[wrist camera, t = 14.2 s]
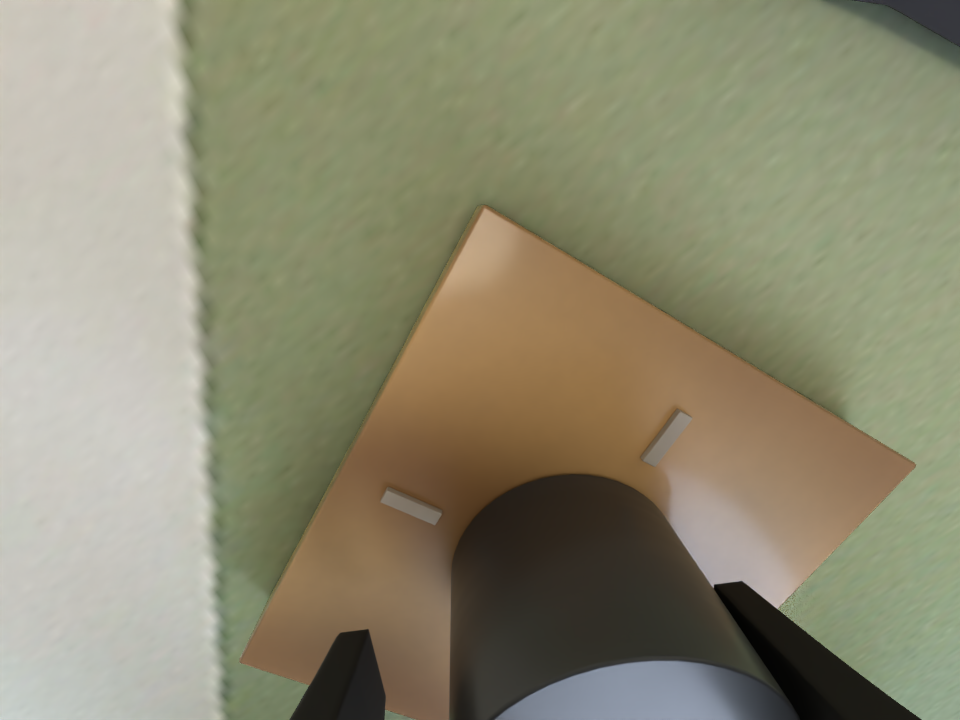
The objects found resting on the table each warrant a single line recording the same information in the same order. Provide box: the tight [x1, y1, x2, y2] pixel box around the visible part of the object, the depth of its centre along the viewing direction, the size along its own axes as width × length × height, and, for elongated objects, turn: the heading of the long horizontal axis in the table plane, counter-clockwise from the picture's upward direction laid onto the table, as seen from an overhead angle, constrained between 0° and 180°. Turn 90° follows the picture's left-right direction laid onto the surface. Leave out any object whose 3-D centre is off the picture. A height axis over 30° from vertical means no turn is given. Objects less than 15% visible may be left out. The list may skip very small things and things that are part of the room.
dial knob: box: [449, 474, 800, 720], centre depth 9 cm, size 6×6×5 cm
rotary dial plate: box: [239, 205, 916, 720], centre depth 12 cm, size 13×12×2 cm
